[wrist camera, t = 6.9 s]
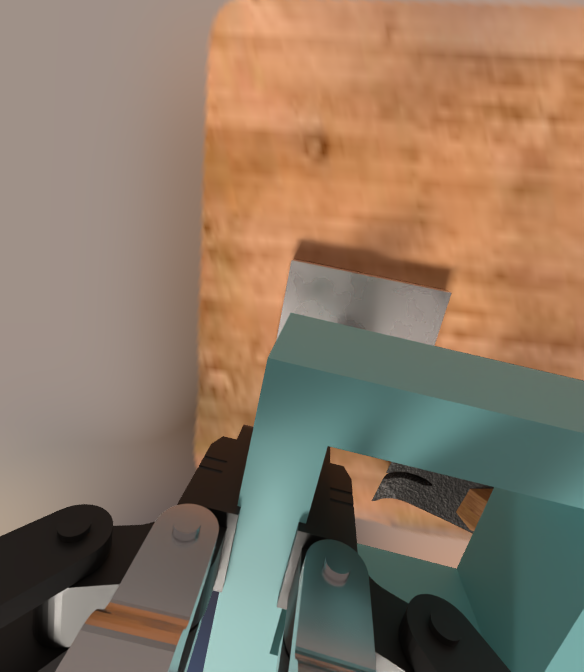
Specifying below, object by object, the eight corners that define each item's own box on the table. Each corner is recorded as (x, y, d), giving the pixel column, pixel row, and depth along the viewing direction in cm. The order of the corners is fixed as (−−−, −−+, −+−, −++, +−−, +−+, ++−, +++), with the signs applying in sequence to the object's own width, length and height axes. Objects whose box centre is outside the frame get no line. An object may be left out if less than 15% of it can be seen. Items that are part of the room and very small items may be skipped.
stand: (445, 289, 28) (493, 313, 19) (401, 424, 31) (427, 492, 23) (293, 258, 28) (278, 269, 20) (267, 394, 31) (246, 450, 23)
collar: (600, 384, 10) (766, 477, 6) (484, 611, 13) (551, 774, 9) (290, 312, 10) (268, 357, 7) (239, 547, 13) (201, 677, 9)
